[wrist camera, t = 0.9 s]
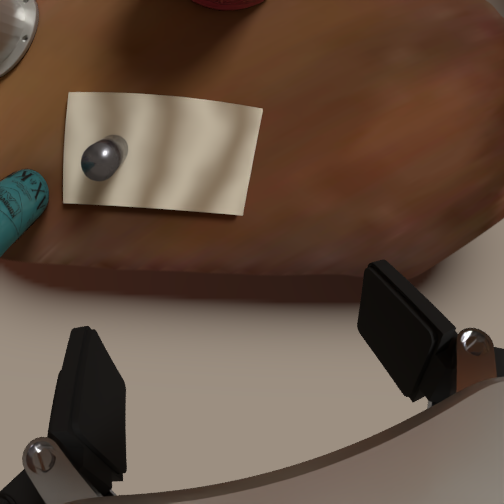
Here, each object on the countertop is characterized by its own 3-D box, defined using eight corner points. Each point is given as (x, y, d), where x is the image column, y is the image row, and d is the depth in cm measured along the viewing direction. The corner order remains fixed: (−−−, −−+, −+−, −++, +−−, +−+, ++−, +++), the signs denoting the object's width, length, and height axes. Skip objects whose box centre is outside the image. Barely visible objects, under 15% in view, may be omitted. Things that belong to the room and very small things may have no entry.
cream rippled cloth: (66, 199, 34) (63, 203, 32) (72, 92, 28) (68, 92, 27) (240, 211, 40) (242, 215, 39) (259, 108, 34) (262, 108, 33)
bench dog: (96, 165, 32) (80, 180, 26) (99, 133, 30) (82, 142, 24) (126, 166, 33) (116, 182, 27) (130, 135, 31) (119, 143, 25)
